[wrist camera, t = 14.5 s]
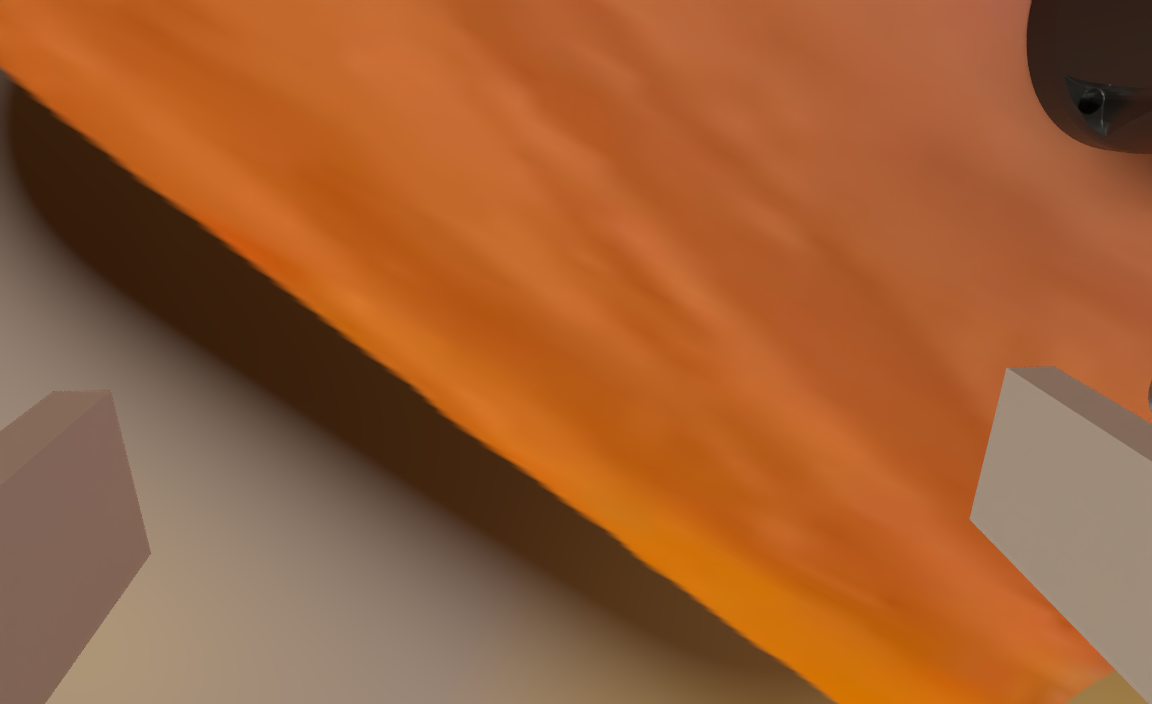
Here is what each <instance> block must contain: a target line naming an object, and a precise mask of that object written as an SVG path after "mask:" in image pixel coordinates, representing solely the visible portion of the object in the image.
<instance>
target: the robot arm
mask: <svg viewBox="0 0 1152 704" xmlns="http://www.w3.org/2000/svg"><path fill="white" fill-rule="evenodd" d="M1027 57H1028V66H1029V72H1030V76H1031V80H1032V84H1033V87H1034V90H1035V93H1036V95H1037V97H1038V99H1039V101H1040V103H1041V105H1042V107H1043V109H1044V110H1045V112H1046V113H1047V115H1048V116H1049V117H1050V118H1051V120H1052V121H1053V122H1054V123H1055V124H1056V125H1057V126H1058V127H1059V128H1060V129H1061V130H1062V131H1063V132H1065V133H1066V134H1067V135H1069V136H1070V137H1072V138H1073V139H1075V140H1077V141H1079V142H1081V143H1083V144H1086V145H1088V146H1091V147H1095V148H1099V149H1104V150H1111V151H1119V152H1127V153H1136V154H1151V153H1152V0H1033V2H1032V7H1031V11H1030V17H1029V23H1028V32H1027ZM1148 400H1149V407H1150V409H1151V412H1152V381H1151V384H1150V387H1149V395H1148ZM970 520H971V521H972V522H973V523H974V524H975V525H976V526H977V527H978V528H979V530H980V531H981V532H982V533H983V534H984V535H985V536H986V537H987V538H988V539H989V540H990V541H991V542H992V543H993V544H994V545H995V546H996V547H997V548H998V549H999V550H1000V551H1001V552H1002V553H1003V554H1004V555H1005V556H1006V557H1007V558H1008V559H1009V560H1010V561H1011V562H1012V563H1013V565H1014V566H1015V567H1016V568H1017V569H1018V570H1019V571H1020V572H1021V573H1022V574H1023V575H1024V576H1025V577H1026V578H1027V579H1028V580H1029V581H1030V582H1031V583H1032V584H1033V585H1034V586H1035V587H1036V588H1037V589H1038V590H1039V591H1040V592H1041V593H1042V594H1043V595H1044V596H1045V597H1046V599H1047V600H1048V601H1049V602H1050V603H1051V604H1052V605H1053V606H1054V607H1055V608H1056V609H1057V610H1058V611H1059V612H1060V613H1061V614H1062V615H1063V616H1064V617H1065V618H1066V619H1067V620H1068V621H1069V622H1070V623H1071V624H1072V625H1073V626H1074V627H1075V628H1076V629H1077V630H1078V631H1079V632H1080V634H1081V635H1082V636H1083V637H1084V638H1085V639H1086V640H1087V641H1088V642H1089V643H1090V644H1091V645H1092V646H1093V647H1094V648H1095V649H1096V650H1097V651H1098V652H1099V653H1100V654H1101V655H1102V656H1103V657H1104V658H1105V659H1106V660H1107V661H1108V662H1109V663H1110V664H1111V665H1112V666H1113V667H1114V669H1115V670H1116V671H1117V672H1118V673H1119V674H1120V675H1121V676H1122V677H1123V678H1124V679H1125V680H1126V681H1127V682H1128V683H1129V684H1130V685H1131V686H1132V687H1133V688H1134V689H1135V690H1136V691H1137V692H1138V693H1139V694H1140V695H1141V696H1142V697H1143V698H1144V699H1145V700H1146V701H1147V702H1148V703H1149V704H1152V424H1151V423H1149V422H1147V421H1146V420H1144V419H1142V418H1141V417H1139V416H1137V415H1135V414H1134V413H1132V412H1130V411H1129V410H1127V409H1125V408H1124V407H1122V406H1120V405H1118V404H1117V403H1115V402H1113V401H1112V400H1110V399H1108V398H1107V397H1105V396H1103V395H1102V394H1100V393H1098V392H1096V391H1095V390H1093V389H1091V388H1090V387H1088V386H1086V385H1085V384H1083V383H1081V382H1079V381H1078V380H1076V379H1074V378H1073V377H1071V376H1069V375H1068V374H1066V373H1064V372H1063V371H1061V370H1059V369H1057V368H1056V367H1054V366H1053V367H1013V368H1007V369H1006V373H1005V377H1004V381H1003V385H1002V389H1001V393H1000V397H999V401H998V405H997V409H996V413H995V417H994V421H993V426H992V430H991V434H990V438H989V442H988V446H987V450H986V454H985V458H984V462H983V466H982V470H981V474H980V478H979V483H978V487H977V491H976V495H975V499H974V503H973V507H972V511H971V515H970ZM150 554H151V552H150V547H149V543H148V539H147V535H146V531H145V527H144V523H143V519H142V515H141V511H140V507H139V503H138V499H137V495H136V491H135V487H134V482H133V478H132V474H131V471H130V466H129V462H128V458H127V454H126V450H125V446H124V443H123V438H122V434H121V430H120V426H119V422H118V418H117V413H116V410H115V406H114V401H113V397H112V393H111V390H94V391H93V390H92V391H53V392H52V393H50V394H49V395H48V396H46V397H45V398H44V399H42V400H41V401H40V402H38V403H37V404H36V405H34V406H33V407H32V408H30V409H29V410H28V411H27V412H25V413H24V414H23V415H21V416H20V417H19V418H17V419H16V420H15V421H13V422H12V423H11V424H9V425H8V426H7V427H5V428H4V429H3V430H1V431H0V704H45V703H46V702H47V700H48V699H49V697H50V696H51V695H52V693H53V692H54V690H55V689H56V687H57V686H58V685H59V683H60V682H61V680H62V679H63V677H64V676H65V675H66V673H67V672H68V670H69V669H70V667H71V666H72V665H73V663H74V662H75V661H76V659H77V658H78V656H79V655H80V653H81V652H82V651H83V649H84V648H85V646H86V645H87V643H88V642H89V641H90V639H91V638H92V636H93V635H94V634H95V632H96V631H97V629H98V628H99V626H100V625H101V624H102V622H103V621H104V619H105V618H106V617H107V615H108V614H109V612H110V611H111V609H112V608H113V607H114V605H115V604H116V602H117V601H118V599H119V598H120V597H121V595H122V594H123V592H124V591H125V590H126V588H127V587H128V585H129V584H130V582H131V581H132V579H133V578H134V577H135V575H136V574H137V572H138V571H139V570H140V568H141V567H142V565H143V564H144V563H145V561H146V560H147V558H148V557H149V555H150Z"/></svg>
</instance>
